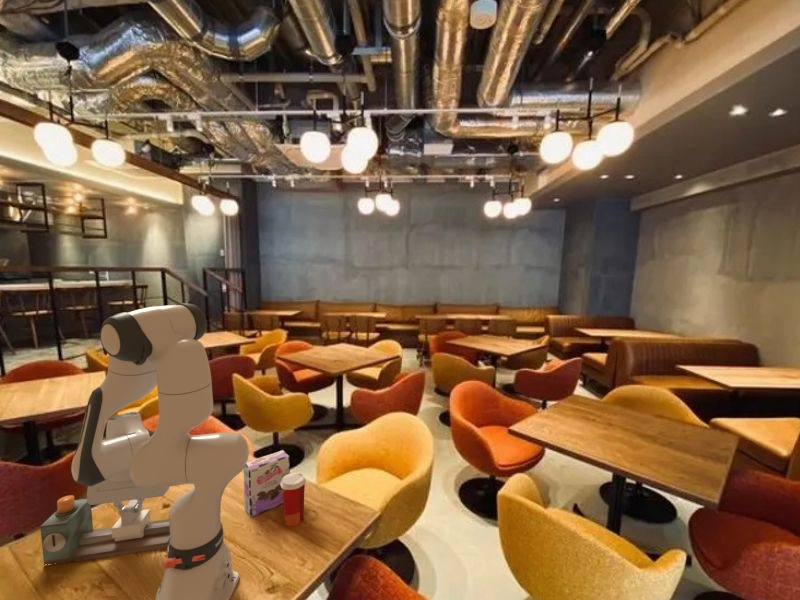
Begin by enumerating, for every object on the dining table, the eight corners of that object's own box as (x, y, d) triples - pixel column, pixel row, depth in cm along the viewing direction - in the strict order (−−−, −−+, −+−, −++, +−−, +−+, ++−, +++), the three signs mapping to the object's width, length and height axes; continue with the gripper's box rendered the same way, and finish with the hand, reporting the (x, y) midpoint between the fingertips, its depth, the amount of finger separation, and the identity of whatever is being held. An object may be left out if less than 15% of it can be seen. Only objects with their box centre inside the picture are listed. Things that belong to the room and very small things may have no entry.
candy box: (250, 518, 119) (248, 469, 118) (244, 509, 124) (242, 462, 122) (291, 501, 128) (289, 455, 126) (284, 493, 132) (283, 448, 131)
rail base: (166, 548, 106) (164, 509, 105) (42, 567, 100) (38, 526, 99) (181, 521, 118) (178, 486, 117) (70, 537, 111) (66, 499, 110)
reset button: (69, 512, 104) (69, 502, 104) (54, 514, 103) (53, 504, 103) (77, 504, 107) (77, 494, 107) (63, 506, 107) (62, 496, 106)
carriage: (140, 540, 107) (138, 511, 106) (112, 544, 106) (110, 515, 105) (151, 523, 114) (149, 496, 113) (125, 527, 112) (123, 500, 112)
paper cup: (297, 509, 123) (296, 469, 122) (311, 519, 119) (310, 477, 117) (276, 521, 117) (274, 479, 116) (290, 532, 113) (289, 488, 111)
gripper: (79, 478, 103) (83, 525, 104) (161, 469, 107) (164, 514, 108) (92, 466, 109) (96, 511, 110) (170, 458, 113) (173, 501, 114)
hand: (131, 512), depth 109 cm, fingers closed on carriage, 2 cm apart
